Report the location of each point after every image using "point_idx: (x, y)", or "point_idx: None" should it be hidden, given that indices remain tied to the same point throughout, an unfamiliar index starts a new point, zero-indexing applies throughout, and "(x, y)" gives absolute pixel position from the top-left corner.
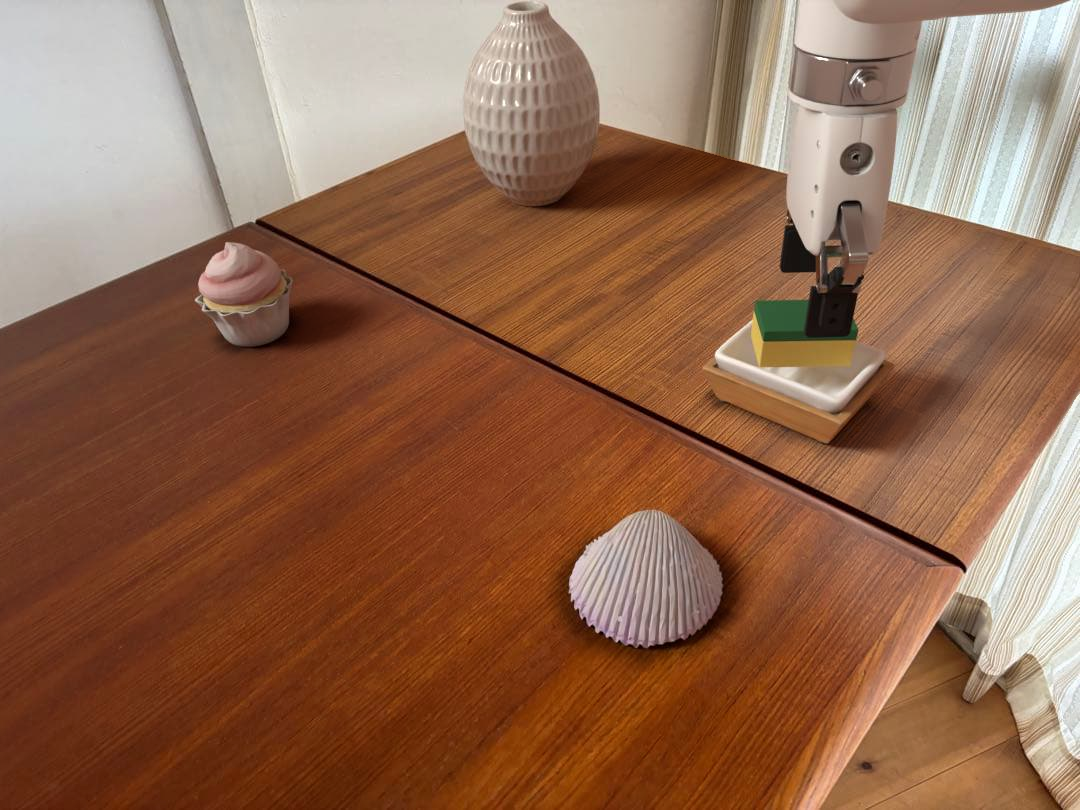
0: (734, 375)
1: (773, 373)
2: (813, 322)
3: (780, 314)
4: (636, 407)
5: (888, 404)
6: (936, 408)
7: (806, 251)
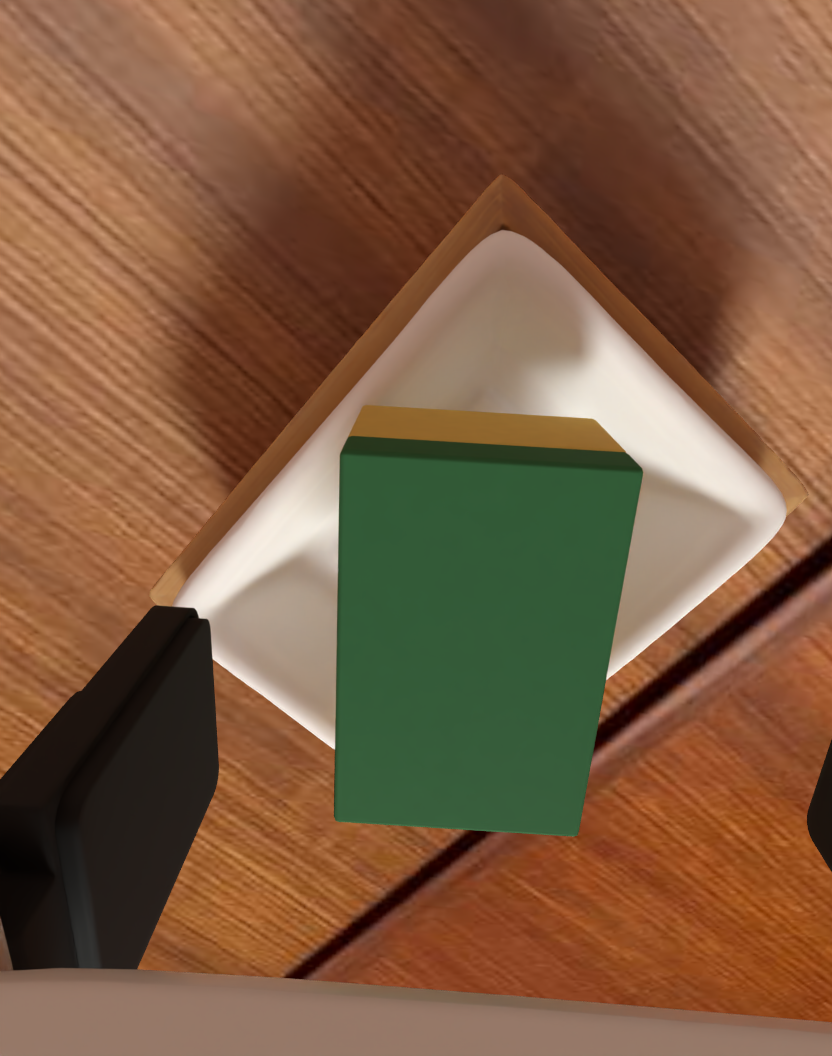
0: None
1: None
2: None
3: (458, 758)
4: (450, 855)
5: None
6: (559, 3)
7: (163, 776)
